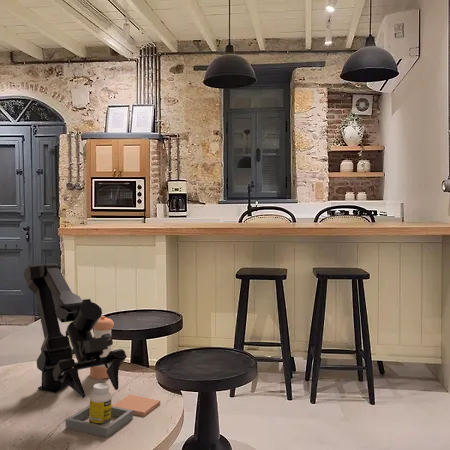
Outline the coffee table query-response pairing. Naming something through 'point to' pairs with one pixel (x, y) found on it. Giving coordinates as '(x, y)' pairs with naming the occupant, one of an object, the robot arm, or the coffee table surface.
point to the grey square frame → (95, 429)
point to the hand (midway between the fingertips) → (101, 393)
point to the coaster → (138, 404)
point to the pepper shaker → (100, 329)
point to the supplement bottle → (100, 405)
